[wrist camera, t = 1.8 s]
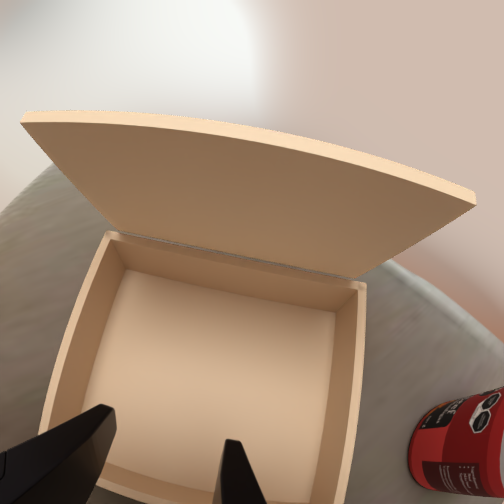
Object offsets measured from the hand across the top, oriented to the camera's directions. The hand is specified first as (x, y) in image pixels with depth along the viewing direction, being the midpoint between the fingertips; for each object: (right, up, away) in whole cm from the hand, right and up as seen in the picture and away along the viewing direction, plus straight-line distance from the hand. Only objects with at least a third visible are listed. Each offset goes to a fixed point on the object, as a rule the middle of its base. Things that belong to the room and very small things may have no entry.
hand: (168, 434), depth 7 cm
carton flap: (+1, +6, +7) cm, 9 cm away
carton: (-1, -5, +13) cm, 14 cm away
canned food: (+18, -11, +11) cm, 24 cm away
